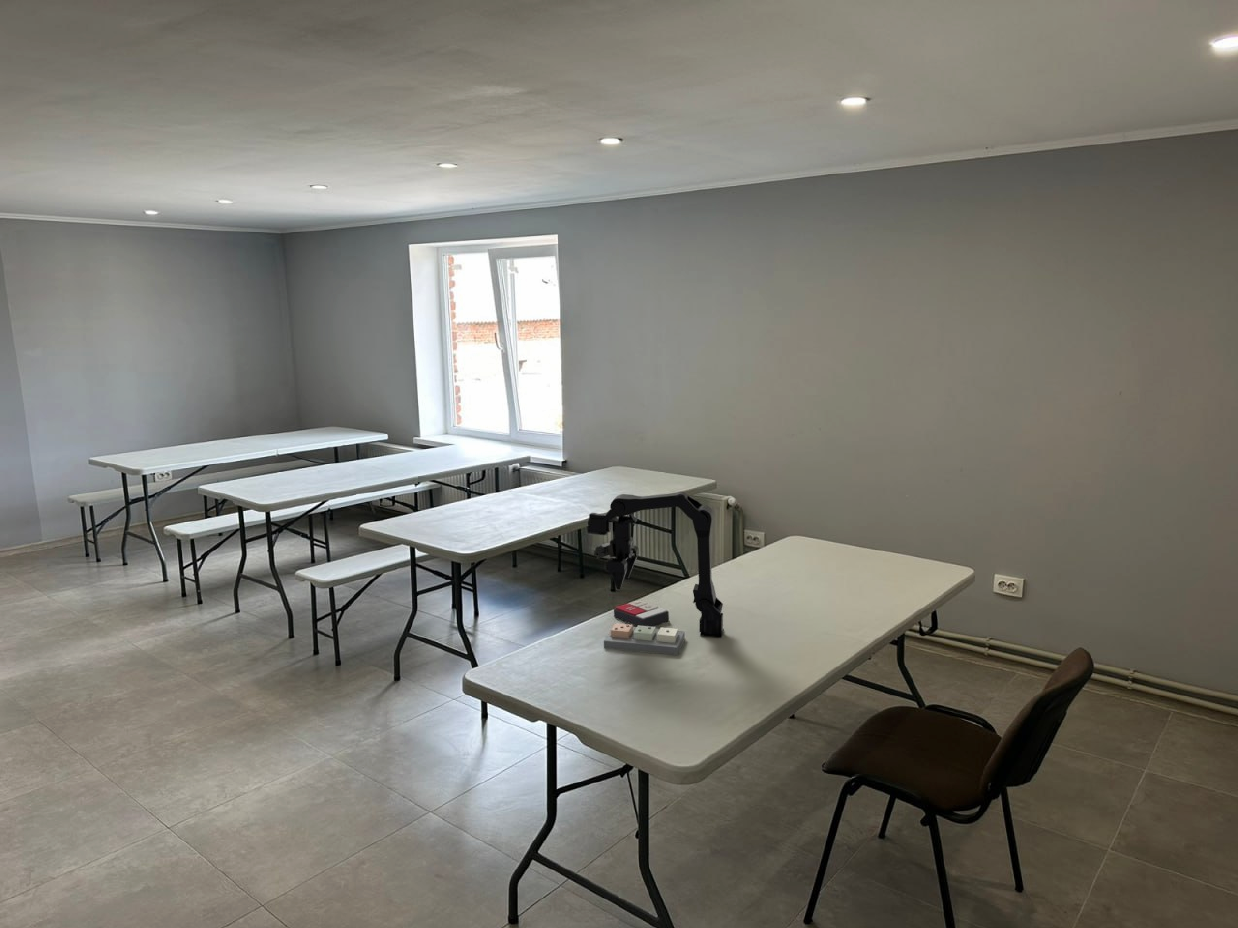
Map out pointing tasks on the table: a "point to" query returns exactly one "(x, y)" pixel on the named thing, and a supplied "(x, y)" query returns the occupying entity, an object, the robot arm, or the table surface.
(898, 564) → the table surface
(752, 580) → the table surface
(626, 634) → the tile
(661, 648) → the console
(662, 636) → the tile
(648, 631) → the tile
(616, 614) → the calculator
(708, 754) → the table surface
